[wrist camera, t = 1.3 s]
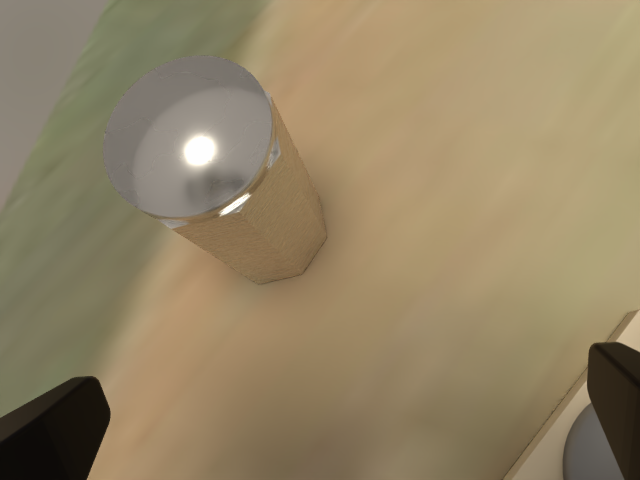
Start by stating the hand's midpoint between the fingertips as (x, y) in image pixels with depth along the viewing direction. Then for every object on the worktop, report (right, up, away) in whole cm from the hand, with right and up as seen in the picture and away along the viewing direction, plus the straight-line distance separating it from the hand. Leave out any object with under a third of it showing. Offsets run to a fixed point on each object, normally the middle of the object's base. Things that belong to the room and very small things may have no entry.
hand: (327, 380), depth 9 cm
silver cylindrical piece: (-3, +3, +15) cm, 16 cm away
